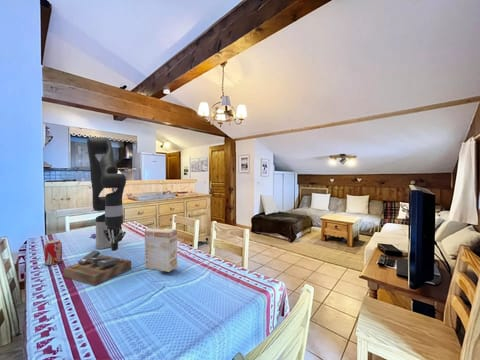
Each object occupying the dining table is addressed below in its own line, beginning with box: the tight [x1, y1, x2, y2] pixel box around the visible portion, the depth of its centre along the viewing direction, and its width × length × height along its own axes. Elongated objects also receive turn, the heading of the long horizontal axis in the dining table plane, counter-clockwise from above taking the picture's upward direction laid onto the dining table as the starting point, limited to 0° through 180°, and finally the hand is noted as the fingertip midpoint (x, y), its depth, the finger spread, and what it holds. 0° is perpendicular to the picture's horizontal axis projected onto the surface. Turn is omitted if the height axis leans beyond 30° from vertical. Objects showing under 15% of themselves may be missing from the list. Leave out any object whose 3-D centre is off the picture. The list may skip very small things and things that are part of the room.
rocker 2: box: [87, 257, 110, 263], centre depth 101 cm, size 8×4×2 cm, turn 157°
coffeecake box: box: [144, 226, 178, 273], centre depth 107 cm, size 15×7×20 cm, turn 71°
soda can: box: [43, 239, 63, 266], centre depth 113 cm, size 7×7×12 cm
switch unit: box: [63, 254, 132, 286], centre depth 102 cm, size 18×22×5 cm
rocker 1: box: [77, 250, 101, 265], centre depth 104 cm, size 8×4×2 cm, turn 157°
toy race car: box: [89, 233, 96, 240], centre depth 159 cm, size 10×15×6 cm, turn 136°
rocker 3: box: [97, 257, 121, 267], centre depth 99 cm, size 8×4×2 cm, turn 157°
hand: (114, 250), depth 102 cm, fingers closed
